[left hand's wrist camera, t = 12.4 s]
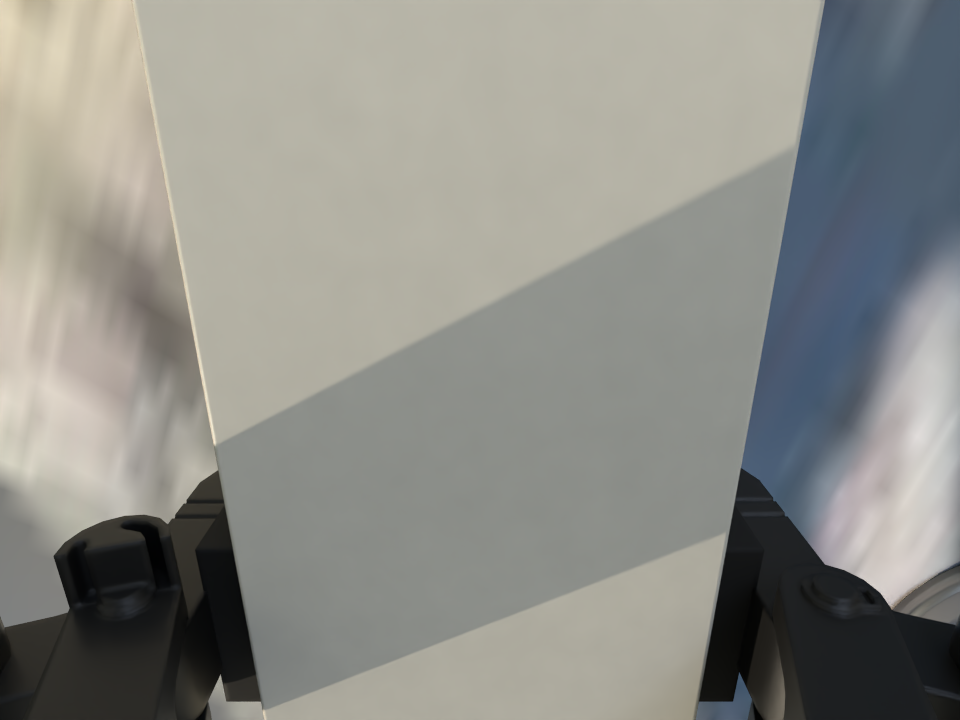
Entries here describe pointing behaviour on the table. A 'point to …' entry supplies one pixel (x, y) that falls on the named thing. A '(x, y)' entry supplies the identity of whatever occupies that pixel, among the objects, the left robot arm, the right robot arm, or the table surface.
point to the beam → (479, 331)
